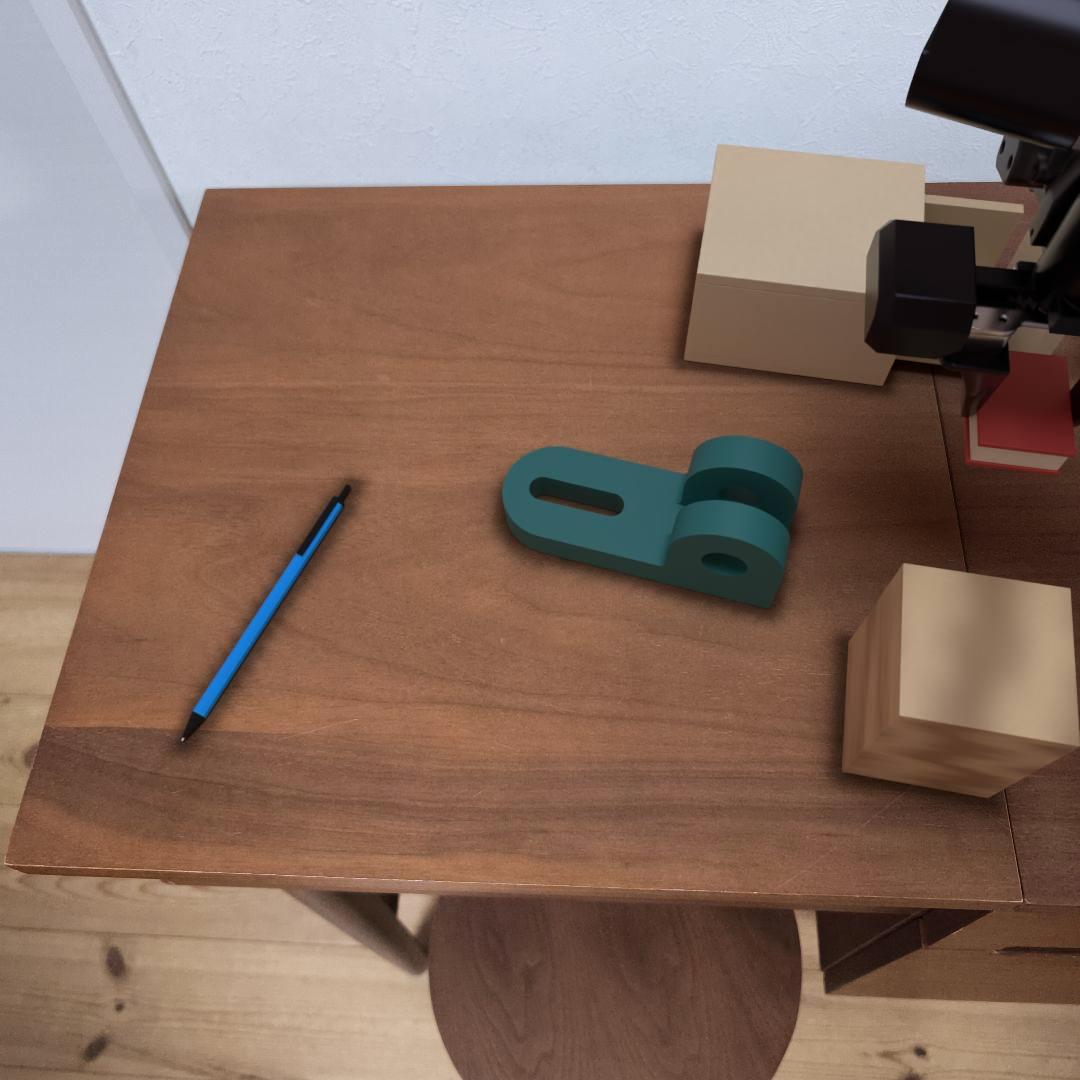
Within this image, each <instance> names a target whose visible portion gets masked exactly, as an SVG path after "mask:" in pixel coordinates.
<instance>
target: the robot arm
mask: <svg viewBox="0 0 1080 1080" xmlns="http://www.w3.org/2000/svg"><path fill="white" fill-rule="evenodd" d="M937 19H938V20H937V21H936V23H935V25H934V27H933V29H932V31H931V33H930V35H929V37H928V39H927V41H926V42H925V45H924V47H923V49H922V50H921V53H920V56H919V57H918V60H917V64H916V66H915V70H914V73H913V75H912V77H911V81H910V84H909V87H908V91H907V94H906V97H905V103H904V108H908V109H912V110H914V111H917V112H921V113H923V114H927V115H932V116H934V117H938V118H942V119H945V120H949V121H952V122H956V123H959V124H962V125H966V126H969V127H972V128H977V129H980V130H983V131H986V132H991V133H993V134H996V135H1000V136H1003V137H1002V140H1001V143H1000V145H999V148H998V151H997V154H996V159H995V169H996V170H997V173H998V175H999V177H1000V179H1001V182H1002V183H1003V185H1004V186H1007V187H1008V186H1009V187H1018V188H1028V191H1029V192H1031V193H1034V196H1035V197H1036V199H1037V201H1038V204H1039V206H1038V208H1037V210H1036V212H1035V213H1034V215H1033V217H1032V219H1031V221H1030V223H1029V225H1028V229H1029V235H1030V245H1031V246H1040V247H1042V255H1041V256H1040V258H1039V260H1038V261H1037V262H1028V261H1018V262H1016V263H1015V265H1014V267H1013V269H1007V267H1006V268H1004V267H997V266H995V267H986V266H976V258H975V234H974V227H972V226H962V225H951V224H941V223H930V222H920V221H909V220H899V219H893V220H889V221H888V222H887V223H886V224H884V225H883V226H882V227H881V228H879V229H878V230H877V231H876V232H875V235H874V238H873V241H872V243H871V246H870V249H869V251H868V254H867V257H866V292H865V329H864V342H865V343H866V344H867V345H868V346H870V347H871V348H872V349H873V350H874V351H875V352H876V353H882V354H891V355H900V356H909V357H918V358H927V359H936V360H937V359H939V362H940V364H941V365H940V366H941V367H943V368H944V369H945V370H948V371H950V372H951V371H952V372H958V373H960V374H961V389H960V417H962V418H964V417H967V418H969V417H971V416H972V415H973V414H975V413H976V412H977V411H978V410H980V409H981V407H982V406H983V405H984V404H985V403H986V401H987V400H988V399H989V398H990V396H991V395H992V394H993V393H994V392H995V390H996V389H997V388H998V387H999V386H1000V384H1001V383H1002V382H1003V381H1004V379H1005V378H1006V377H1007V376H1008V375H1009V373H1010V358H1009V341H1008V340H1009V339H1010V337H1011V336H1012V335H1013V334H1014V333H1015V332H1016V330H1017V329H1018V328H1019V327H1029V328H1038V329H1048V330H1049V333H1051V334H1061V335H1065V336H1073V337H1080V0H947V2H946V4H945V6H944V8H943V10H942V12H941V13H940V16H939V17H938V18H937ZM1069 393H1070V404H1071V414H1072V421H1073V427H1074V428H1076V427H1079V426H1080V378H1078V380H1077V381H1076V382H1075V384H1074V385H1073V386H1072V387H1071V388H1070V391H1069Z"/></svg>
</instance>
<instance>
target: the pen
mask: <svg viewBox="0 0 1080 1080" xmlns="http://www.w3.org/2000/svg"><path fill="white" fill-rule="evenodd" d="M351 489H352V486H351V485H350V484H345V485H344V487H343V489H342V490H341V492H340V493H339V495H338V496H336V495H333V497H332V498H330V500H329V502H328V504H327V505H326V507H325V508H324V510H323V511H322V513H321V514H320V515H319V517H318V518H317V521H316V522H315V523H314V525H313V526H312V528H311V530H309V532H308V534H307V535H306V537H305V538H304V540H303V541H302V543H301V544H300V545H299V548H298V549H297V550H296V552H295V554H294V556H293V557H292V559H291V561H290V562H289V564H288V565H287V567H286V568H285V569H284V571H283V573H282V574H281V575H280V577H279V579H278V580H277V581H276V582H275V585H274V586H273V588H272V589H271V590H270V592H269V594H268V596H267V597H266V598H265V600H264V602H263V603H262V605H261V606H260V608H259V609H258V611H257V612H256V614H255V615H254V617H253V618H252V619H251V621H250V623H249V624H248V625H247V627H246V629H245V631H244V632H243V633H242V635H241V636H240V638H239V640H238V641H237V642H236V644H235V645H234V647H233V649H232V650H231V651H230V653H229V655H228V656H227V657H226V659H225V661H224V662H223V663H222V665H221V667H220V668H219V669H218V671H217V673H215V676H214V677H213V679H212V680H211V681H210V683H209V685H208V686H207V688H206V690H205V691H204V693H203V694H202V695H201V697H200V698H199V700H198V702H197V703H196V704H195V706H194V707H193V709H192V711H191V713H190V715H189V718H188V721H187V724H186V726H185V728H184V731H183V733H182V736H181V739H180V741H181V742H184V740H186V739H187V738H189V736H190V735H192V733H193V732H194V731H195V730H196V729H197V728H198V727H199V726H200V725H201V724H202V723H203V722H204V721H205V720H206V719H207V718H208V715H209V714H210V712H212V709H213V708H214V706H215V705H216V703H217V702H218V700H219V699H220V697H221V696H222V694H223V693H224V691H225V690H226V688H227V686H228V685H229V683H230V682H231V680H232V679H233V677H234V676H235V674H236V673H237V671H238V670H239V668H240V666H241V665H242V663H243V662H244V660H245V658H246V657H247V656H248V654H249V653H250V651H251V649H252V648H253V647H254V645H255V644H256V642H257V640H258V639H259V637H260V636H261V634H262V633H263V631H264V629H265V628H266V627H267V625H268V623H270V620H271V619H272V617H273V616H274V614H275V612H276V611H277V610H278V608H279V607H280V605H281V604H282V602H283V600H284V599H285V597H286V596H287V594H288V593H289V592H290V590H291V588H292V587H293V585H294V584H295V582H296V580H297V579H298V577H299V576H300V574H301V573H302V571H303V569H304V568H305V567H306V565H307V564H308V562H309V560H310V559H311V557H312V556H313V554H314V553H315V551H316V549H317V548H318V547H319V545H320V544H321V542H322V540H323V539H324V537H325V536H326V534H327V533H328V531H329V529H330V528H331V526H332V525H333V523H334V522H335V520H336V519H337V517H338V516H339V514H340V513H341V511H342V510H343V508H344V507H345V502H344V499H345V498H346V496H347V495H348V493H349V492H350V490H351Z"/></svg>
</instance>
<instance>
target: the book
mask: <svg viewBox="0 0 1080 1080" xmlns="http://www.w3.org/2000/svg"><path fill="white" fill-rule="evenodd" d="M1009 358H1010V373H1009V375H1008V376H1007V377H1006V378H1005V379H1004V381H1003V382H1002V383H1001V384H1000V386H999V387H998V388H997V389H996V390H995V392H994V393H993V394H992V395H991V396H990V398H989V399H988V400H987V401H986V403H985V404H984V405H983V406H982V407H981V409H980V410H978V411H977V412H976V413H975V414H973V415H972V416H971V417H969V418H967V417H963V432H964V433H963V436H964V463H965V464H964V465H967V466H974V467H982V468H991V469H997V470H998V469H999V470H1007V471H1013V472H1014V471H1015V472H1023V473H1030V474H1038V475H1047V476H1054V477H1058V476H1059V475H1060V474H1061V467H1062V466H1063V465H1064V464H1065V462H1066V461H1067V460H1068V459H1069V458H1071V459H1072V458H1073V459H1074V458H1075V457H1076V456H1077V450H1076V440H1075V427H1073V421H1072V414H1071V404H1070V393H1069V391H1070V390H1071V387H1070V386H1071V385H1070V375H1069V363H1068V356H1064V355H1063V356H1062V355H1053V354H1051V355H1047V354H1037V353H1028V352H1019V351H1010V350H1009Z"/></svg>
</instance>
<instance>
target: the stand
mask: <svg viewBox="0 0 1080 1080" xmlns="http://www.w3.org/2000/svg"><path fill="white" fill-rule="evenodd" d="M1071 590H1072V589H1071V588H1070V587H1064V586H1057V585H1051V584H1044V583H1038V582H1030V581H1026V580H1018V579H1011V578H1005V577H999V576H992V575H985V574H978V573H974V572H973V573H972V572H967V571H959V570H953V569H947V568H938V567H932V566H926V565H919V564H913V563H907V562H903V563H902V564H901V566H900V568H899V569H898V570H897V572H896V573H895V574H894V576H893V577H892V579H891V580H890V581H889V583H888V584H887V586H886V587H885V589H884V590H883V592H882V593H881V595H880V596H879V597H878V599H877V600H876V602H875V603H874V605H873V606H872V607H871V609H870V610H869V612H868V613H867V615H866V616H865V618H864V619H863V620H862V622H861V623H860V625H859V626H858V628H857V629H856V630H855V632H854V633H853V635H852V637H851V638H850V639H849V641H848V643H847V644H848V645H847V662H846V681H845V683H846V684H845V698H844V699H845V701H844V718H843V719H844V720H843V739H842V759H841V772H842V773H846V774H851V775H857V776H862V777H869V778H874V779H879V780H884V781H889V782H890V781H891V782H894V783H895V782H897V783H902V784H908V785H913V786H917V787H923V788H929V789H934V790H939V791H946V792H950V793H951V792H952V793H956V794H962V795H968V796H973V797H979V798H985V799H989V798H991V797H993V796H995V795H996V794H998V793H1000V792H1002V791H1003V790H1005V789H1007V788H1009V787H1011V786H1013V785H1014V784H1016V783H1018V782H1020V781H1022V780H1023V779H1025V778H1026V777H1029V776H1030V775H1032V774H1034V773H1035V772H1037V771H1040V770H1041V769H1042V768H1045V767H1046V766H1048V765H1050V764H1052V763H1053V762H1055V761H1057V760H1059V759H1061V758H1063V757H1064V756H1066V755H1067V754H1070V753H1072V752H1073V751H1075V750H1076V749H1078V748H1080V720H1079V719H1080V718H1079V703H1078V688H1077V686H1078V685H1077V672H1076V671H1077V670H1076V669H1077V668H1076V657H1075V656H1076V655H1075V640H1074V639H1075V637H1074V621H1073V606H1072V591H1071Z"/></svg>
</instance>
